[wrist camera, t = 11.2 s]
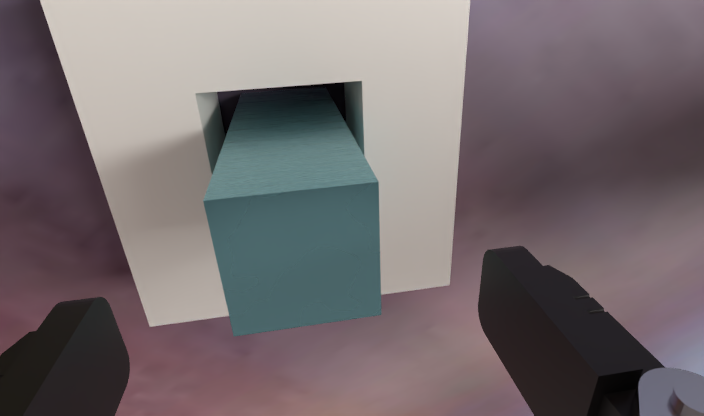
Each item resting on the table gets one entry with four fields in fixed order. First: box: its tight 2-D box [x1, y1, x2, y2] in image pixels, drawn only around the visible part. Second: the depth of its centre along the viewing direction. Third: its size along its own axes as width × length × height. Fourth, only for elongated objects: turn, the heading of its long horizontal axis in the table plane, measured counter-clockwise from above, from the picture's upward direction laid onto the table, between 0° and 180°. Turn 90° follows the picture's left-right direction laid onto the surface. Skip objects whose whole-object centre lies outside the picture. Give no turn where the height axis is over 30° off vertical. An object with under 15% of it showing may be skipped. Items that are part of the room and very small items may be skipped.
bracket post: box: [203, 87, 381, 336], centre depth 16 cm, size 4×4×12 cm
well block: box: [40, 0, 470, 327], centre depth 19 cm, size 14×14×5 cm
